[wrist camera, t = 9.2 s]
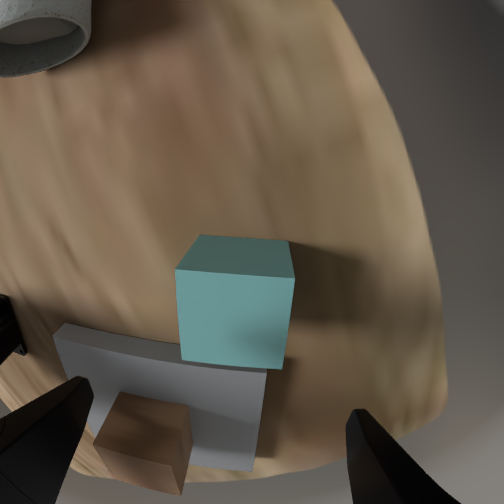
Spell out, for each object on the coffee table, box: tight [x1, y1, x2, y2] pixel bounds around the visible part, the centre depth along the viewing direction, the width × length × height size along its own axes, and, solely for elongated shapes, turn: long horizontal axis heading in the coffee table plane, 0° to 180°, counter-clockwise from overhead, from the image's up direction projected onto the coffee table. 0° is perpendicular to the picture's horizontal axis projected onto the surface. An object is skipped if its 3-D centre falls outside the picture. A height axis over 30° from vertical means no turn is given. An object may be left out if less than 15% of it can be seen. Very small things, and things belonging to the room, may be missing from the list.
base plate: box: [52, 323, 267, 472], centre depth 21 cm, size 16×14×2 cm
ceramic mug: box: [0, 0, 92, 78], centre depth 9 cm, size 11×8×8 cm
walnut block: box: [93, 391, 193, 496], centre depth 18 cm, size 6×6×6 cm
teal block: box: [175, 235, 295, 369], centre depth 16 cm, size 5×5×5 cm
